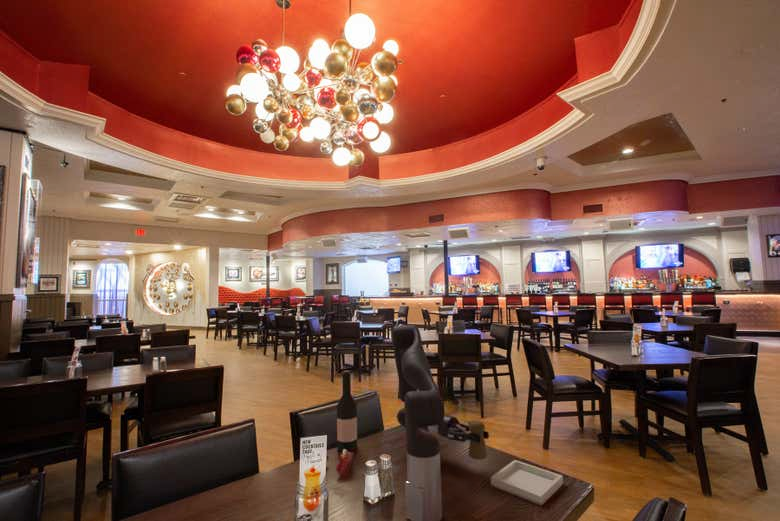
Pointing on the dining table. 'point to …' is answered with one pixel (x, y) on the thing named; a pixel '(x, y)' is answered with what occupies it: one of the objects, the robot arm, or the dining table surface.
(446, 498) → the dining table surface
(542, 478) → the serving tray
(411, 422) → the robot arm
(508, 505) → the dining table surface
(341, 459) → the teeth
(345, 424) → the wine bottle
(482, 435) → the cork
